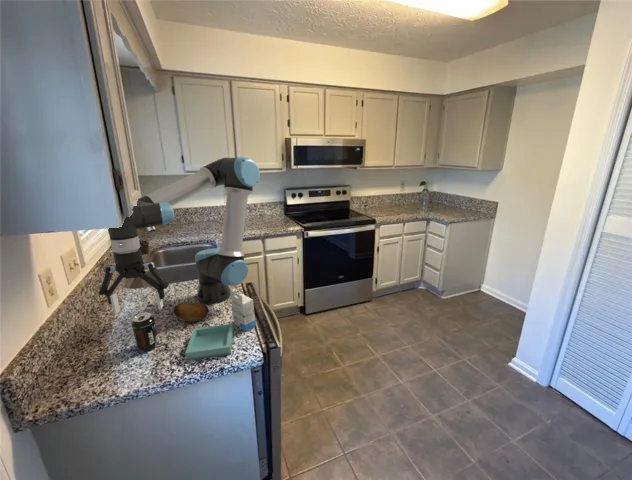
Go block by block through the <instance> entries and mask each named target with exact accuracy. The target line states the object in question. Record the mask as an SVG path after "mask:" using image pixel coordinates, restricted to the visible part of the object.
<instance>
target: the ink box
mask: <svg viewBox="0 0 632 480" xmlns="http://www.w3.org/2000/svg"><path fill="white" fill-rule="evenodd" d="M230 292H231V295H230V301H231V307H232V317H233V323H234V324H233V325H235V326H237V327H238V328H240V329H241V330H243V331H244V332H248V331H250V330H251V329H253V328H255V327H256V318H255V309H254V308H255V305H254V299H252V298H250V297H249V296H247V295H245V294H243V293H237V292H235V291H232V290H231V291H230Z"/></svg>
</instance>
